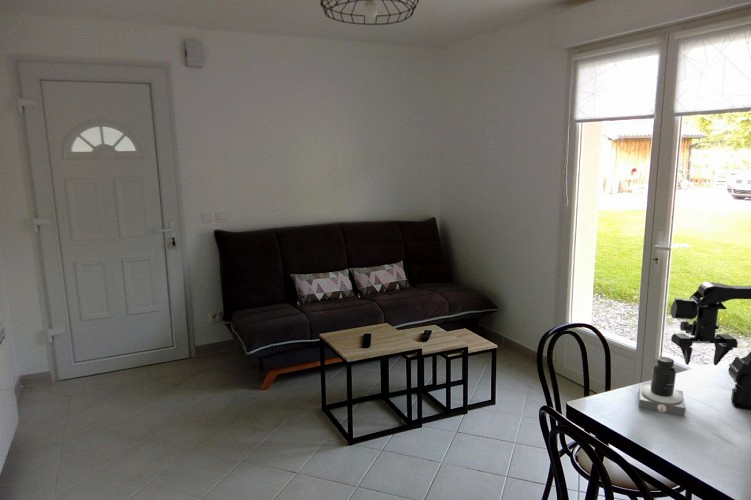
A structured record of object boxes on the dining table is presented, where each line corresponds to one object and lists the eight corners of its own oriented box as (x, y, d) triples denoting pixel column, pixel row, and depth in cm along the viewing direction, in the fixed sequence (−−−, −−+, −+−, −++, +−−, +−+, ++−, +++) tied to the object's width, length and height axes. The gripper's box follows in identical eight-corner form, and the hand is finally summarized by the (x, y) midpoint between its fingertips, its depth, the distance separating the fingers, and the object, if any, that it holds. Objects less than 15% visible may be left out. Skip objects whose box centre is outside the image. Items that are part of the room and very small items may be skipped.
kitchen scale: (681, 399, 178) (682, 389, 177) (684, 417, 166) (685, 406, 165) (639, 391, 184) (640, 381, 183) (639, 408, 172) (640, 398, 171)
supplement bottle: (671, 399, 170) (675, 365, 168) (648, 393, 174) (651, 359, 172) (675, 391, 175) (679, 358, 173) (652, 386, 179) (656, 353, 177)
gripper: (720, 313, 179) (715, 355, 182) (665, 312, 180) (660, 354, 183) (741, 323, 168) (735, 368, 171) (682, 323, 169) (677, 368, 172)
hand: (700, 364), depth 175 cm, fingers open, 9 cm apart
